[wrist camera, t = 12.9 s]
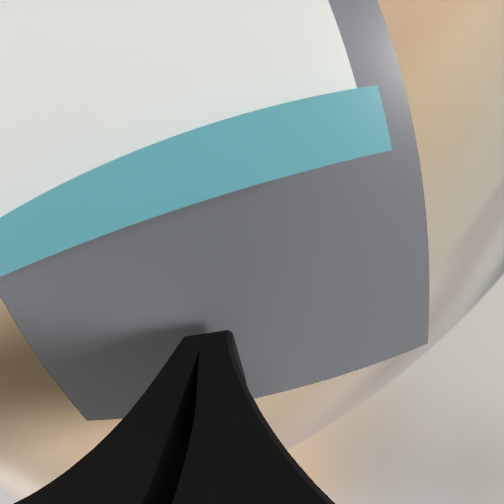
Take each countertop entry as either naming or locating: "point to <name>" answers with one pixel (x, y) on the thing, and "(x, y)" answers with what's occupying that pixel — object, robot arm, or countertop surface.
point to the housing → (249, 268)
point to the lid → (164, 110)
